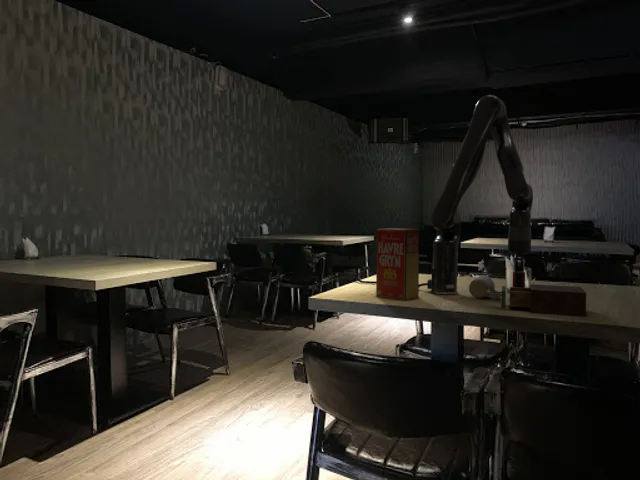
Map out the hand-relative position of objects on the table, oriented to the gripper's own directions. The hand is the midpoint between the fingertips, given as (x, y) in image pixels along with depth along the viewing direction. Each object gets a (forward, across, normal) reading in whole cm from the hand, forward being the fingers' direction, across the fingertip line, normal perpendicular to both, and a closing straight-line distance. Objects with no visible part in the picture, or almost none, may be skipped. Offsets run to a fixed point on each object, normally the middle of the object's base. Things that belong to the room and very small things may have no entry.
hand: (518, 287), depth 173 cm
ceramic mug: (+5, -1, -11) cm, 12 cm away
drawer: (+4, +15, -1) cm, 15 cm away
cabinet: (+5, +15, +11) cm, 19 cm away
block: (+5, 0, 0) cm, 5 cm away
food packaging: (+5, +10, -41) cm, 43 cm away
